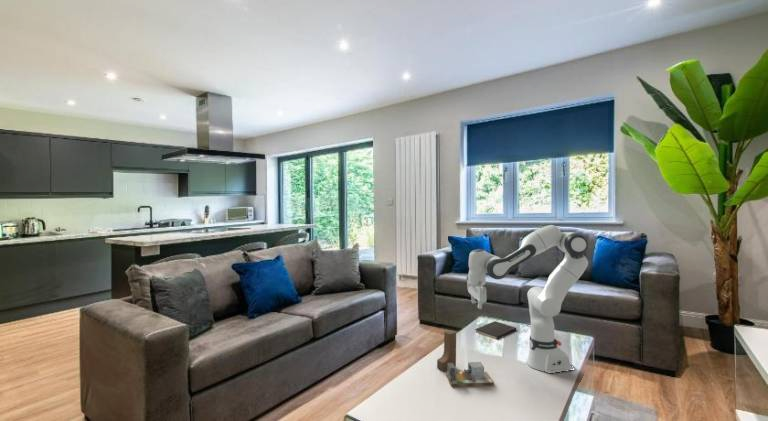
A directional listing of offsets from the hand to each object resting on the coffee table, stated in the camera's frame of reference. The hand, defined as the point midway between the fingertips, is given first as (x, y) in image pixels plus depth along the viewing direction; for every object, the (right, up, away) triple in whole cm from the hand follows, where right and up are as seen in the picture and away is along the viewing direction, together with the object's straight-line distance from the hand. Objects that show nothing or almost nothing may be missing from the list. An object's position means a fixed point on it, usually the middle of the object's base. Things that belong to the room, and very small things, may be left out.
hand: (476, 305), depth 187 cm
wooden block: (-17, -30, -8) cm, 35 cm away
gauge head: (-7, -28, -21) cm, 36 cm away
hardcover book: (+23, -28, +41) cm, 55 cm away
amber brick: (-14, -28, -25) cm, 40 cm away
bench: (-9, -30, -20) cm, 37 cm away
